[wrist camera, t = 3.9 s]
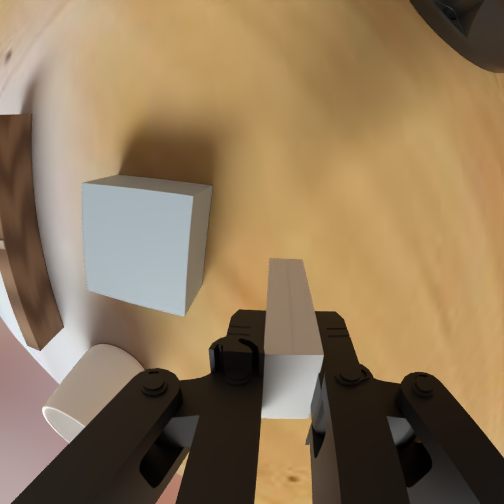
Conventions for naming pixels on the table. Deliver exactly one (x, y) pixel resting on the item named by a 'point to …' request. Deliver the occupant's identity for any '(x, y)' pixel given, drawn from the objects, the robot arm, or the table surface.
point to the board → (23, 237)
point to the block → (145, 240)
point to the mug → (89, 388)
